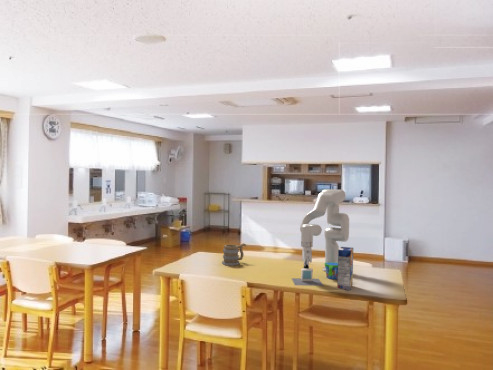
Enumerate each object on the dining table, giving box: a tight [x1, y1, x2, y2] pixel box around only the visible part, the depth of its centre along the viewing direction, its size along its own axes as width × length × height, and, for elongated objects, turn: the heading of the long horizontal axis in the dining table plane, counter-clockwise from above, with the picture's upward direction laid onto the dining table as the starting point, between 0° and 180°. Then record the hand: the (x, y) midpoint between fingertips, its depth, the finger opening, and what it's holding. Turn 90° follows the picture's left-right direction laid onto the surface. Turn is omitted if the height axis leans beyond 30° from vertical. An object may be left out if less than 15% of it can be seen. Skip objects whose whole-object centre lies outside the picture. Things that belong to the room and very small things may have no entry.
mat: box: [291, 277, 325, 287], centre depth 256 cm, size 18×17×1 cm
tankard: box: [221, 243, 247, 266], centre depth 310 cm, size 20×13×15 cm, turn 120°
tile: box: [300, 267, 314, 281], centre depth 257 cm, size 7×2×8 cm, turn 91°
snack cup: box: [324, 262, 338, 280], centre depth 268 cm, size 16×10×10 cm
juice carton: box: [336, 246, 354, 291], centre depth 247 cm, size 12×8×24 cm, turn 158°
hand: (306, 272), depth 260 cm, fingers closed
